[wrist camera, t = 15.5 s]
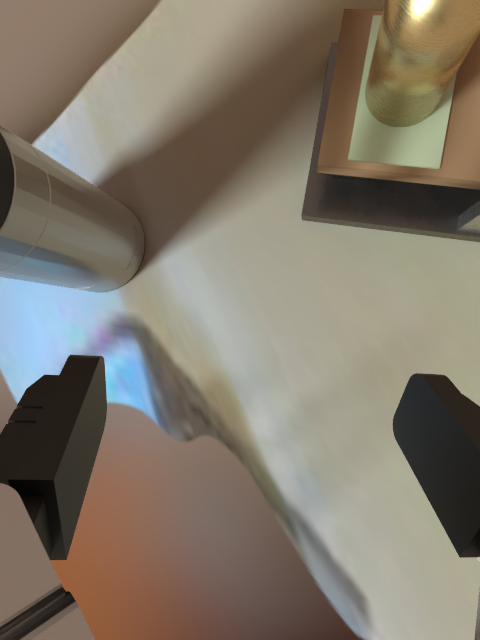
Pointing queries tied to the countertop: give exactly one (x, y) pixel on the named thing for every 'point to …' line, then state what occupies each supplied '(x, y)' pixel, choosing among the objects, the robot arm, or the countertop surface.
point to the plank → (399, 142)
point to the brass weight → (418, 56)
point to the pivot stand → (386, 196)
